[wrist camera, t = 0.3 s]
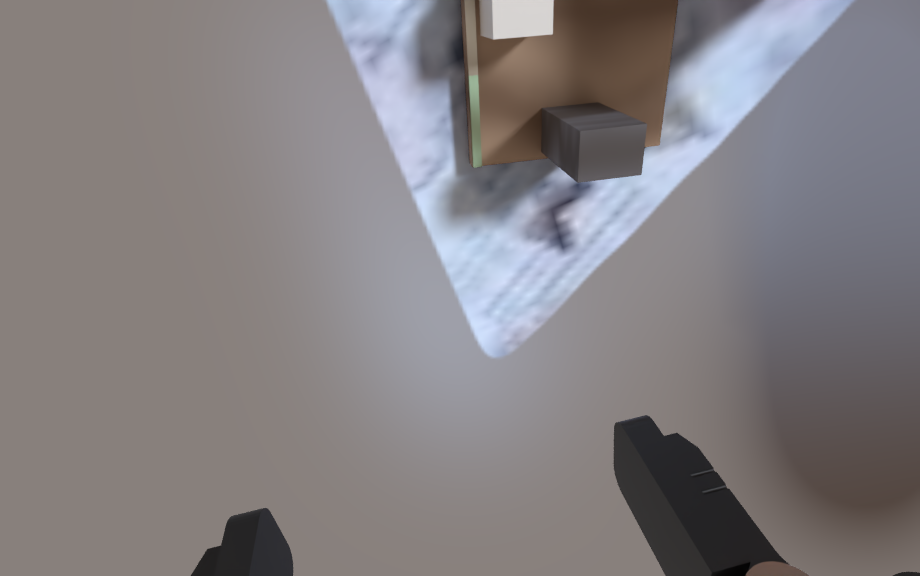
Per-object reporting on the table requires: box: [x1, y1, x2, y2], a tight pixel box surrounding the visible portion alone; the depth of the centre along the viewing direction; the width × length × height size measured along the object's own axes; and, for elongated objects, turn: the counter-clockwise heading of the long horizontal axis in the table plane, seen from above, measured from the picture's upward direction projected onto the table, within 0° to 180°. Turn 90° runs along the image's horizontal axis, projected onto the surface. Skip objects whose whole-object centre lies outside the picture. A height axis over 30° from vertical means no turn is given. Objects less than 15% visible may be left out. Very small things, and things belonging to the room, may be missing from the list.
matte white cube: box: [479, 0, 554, 40], centre depth 30 cm, size 4×4×4 cm
